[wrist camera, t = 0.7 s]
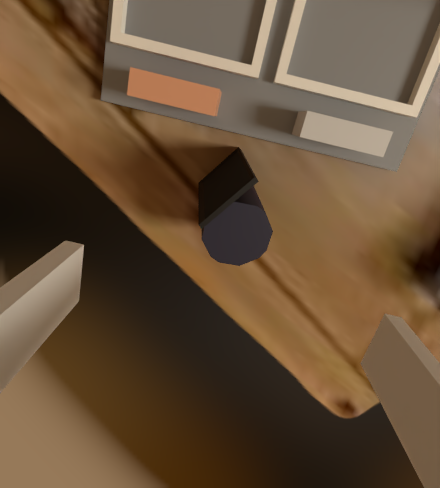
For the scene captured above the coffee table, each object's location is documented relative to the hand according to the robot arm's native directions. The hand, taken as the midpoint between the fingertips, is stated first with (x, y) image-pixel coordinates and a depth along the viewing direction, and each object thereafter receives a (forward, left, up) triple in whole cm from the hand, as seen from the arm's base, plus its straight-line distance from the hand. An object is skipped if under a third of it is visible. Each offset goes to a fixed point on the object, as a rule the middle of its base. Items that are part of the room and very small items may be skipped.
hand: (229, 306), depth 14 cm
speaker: (0, 0, -21) cm, 21 cm away
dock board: (-15, 0, -21) cm, 26 cm away
